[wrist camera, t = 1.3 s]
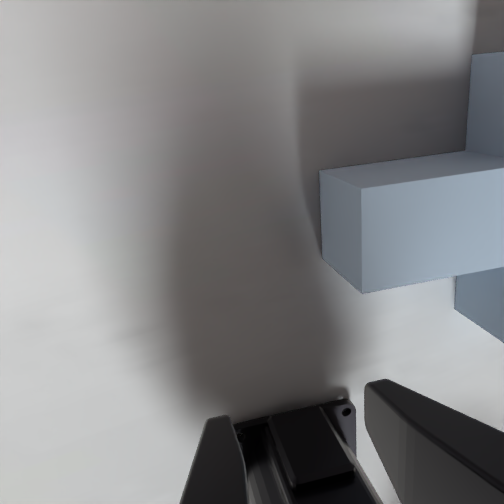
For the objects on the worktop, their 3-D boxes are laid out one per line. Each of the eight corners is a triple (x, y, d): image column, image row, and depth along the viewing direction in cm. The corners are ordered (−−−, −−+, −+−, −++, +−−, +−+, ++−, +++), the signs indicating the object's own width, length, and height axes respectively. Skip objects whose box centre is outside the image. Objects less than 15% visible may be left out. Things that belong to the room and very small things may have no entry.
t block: (521, 295, 25) (590, 330, 21) (325, 335, 23) (362, 383, 19) (552, 47, 20) (643, 38, 17) (315, 69, 18) (360, 63, 15)
